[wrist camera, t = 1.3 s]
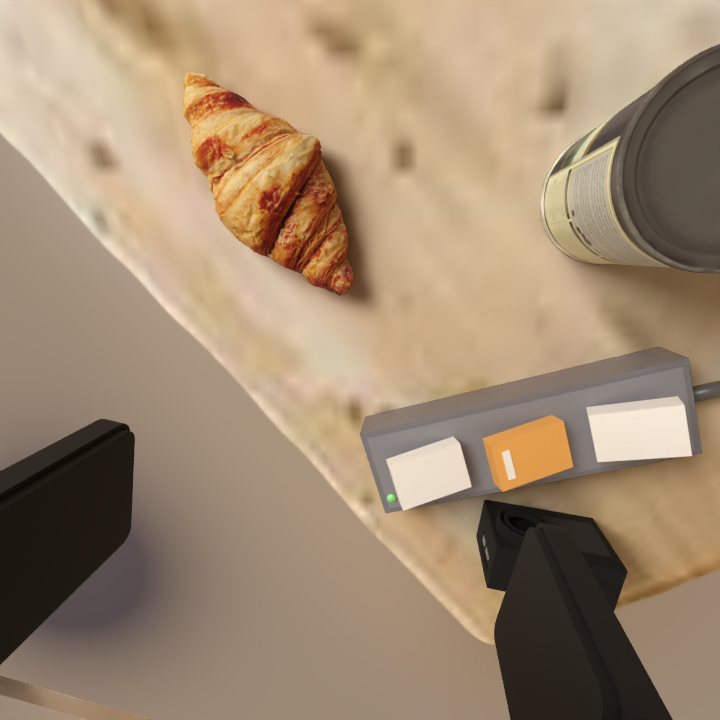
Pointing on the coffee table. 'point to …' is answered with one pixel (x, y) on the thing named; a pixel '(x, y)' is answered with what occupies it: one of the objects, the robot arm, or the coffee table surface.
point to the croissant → (268, 184)
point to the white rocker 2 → (640, 430)
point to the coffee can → (645, 179)
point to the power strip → (532, 417)
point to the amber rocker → (528, 452)
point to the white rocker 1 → (429, 473)
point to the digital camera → (511, 522)
